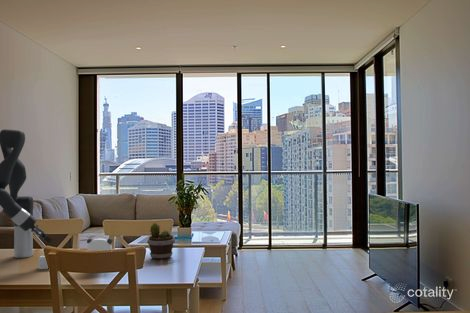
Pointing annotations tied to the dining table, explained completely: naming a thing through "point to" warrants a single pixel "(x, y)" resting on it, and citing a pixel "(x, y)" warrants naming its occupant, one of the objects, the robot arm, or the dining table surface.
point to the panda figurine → (99, 244)
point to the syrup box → (42, 263)
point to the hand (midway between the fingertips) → (50, 241)
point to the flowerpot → (160, 243)
